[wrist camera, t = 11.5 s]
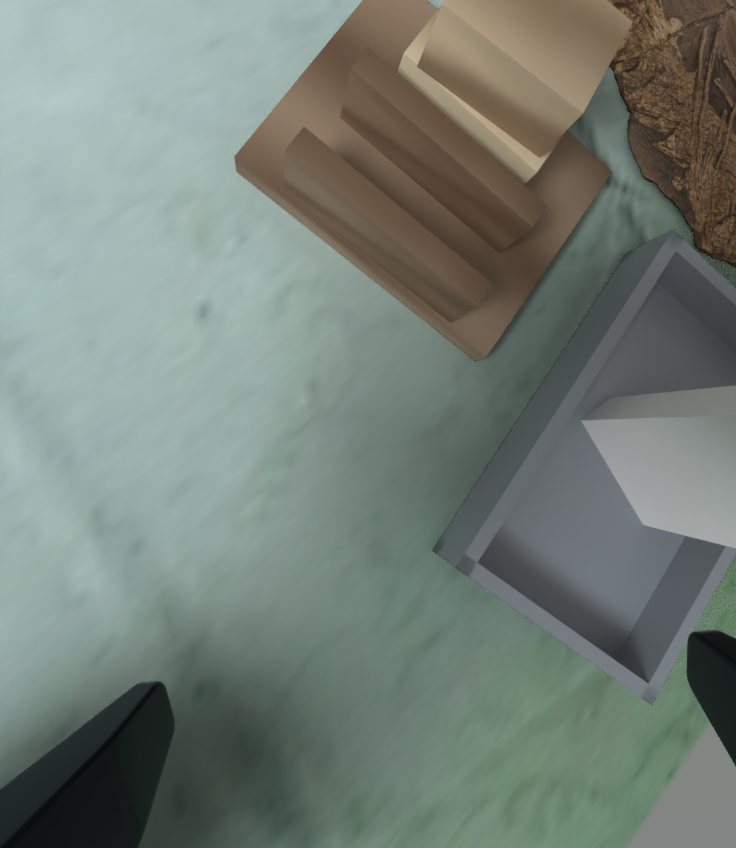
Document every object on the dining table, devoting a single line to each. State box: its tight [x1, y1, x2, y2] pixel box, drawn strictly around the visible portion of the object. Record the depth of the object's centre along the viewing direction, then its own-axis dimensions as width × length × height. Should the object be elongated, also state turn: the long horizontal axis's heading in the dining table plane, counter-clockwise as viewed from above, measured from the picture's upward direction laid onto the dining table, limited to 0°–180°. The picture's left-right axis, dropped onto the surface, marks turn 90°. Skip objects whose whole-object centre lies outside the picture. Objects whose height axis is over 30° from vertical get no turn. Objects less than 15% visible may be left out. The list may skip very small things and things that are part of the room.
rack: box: [235, 0, 612, 361], centre depth 18 cm, size 10×12×4 cm
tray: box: [432, 230, 736, 705], centre depth 20 cm, size 16×10×2 cm, turn 144°
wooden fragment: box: [607, 0, 736, 268], centre depth 22 cm, size 26×11×1 cm, turn 34°
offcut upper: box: [417, 0, 633, 158], centre depth 15 cm, size 4×5×2 cm
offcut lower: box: [397, 6, 567, 185], centre depth 18 cm, size 4×6×2 cm, turn 55°
